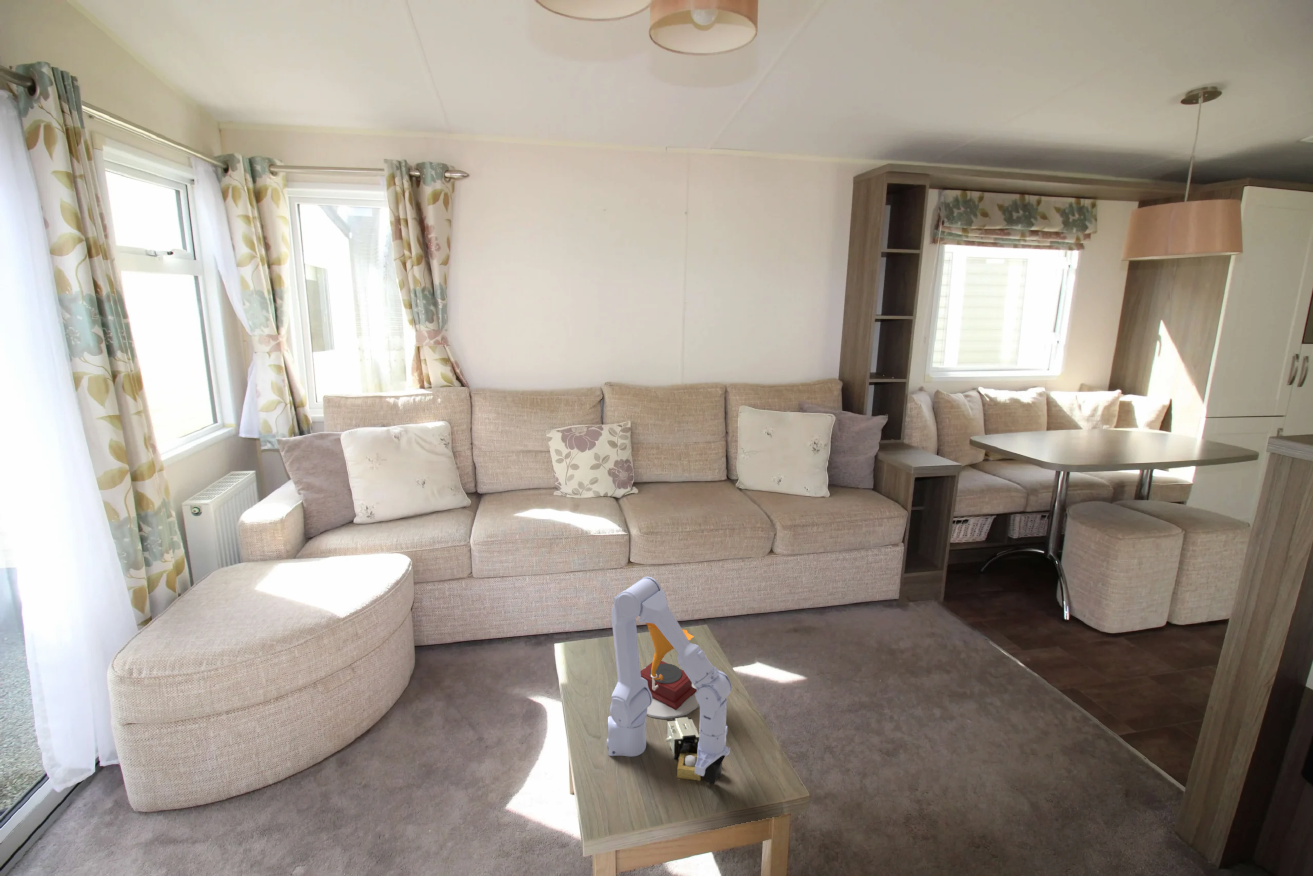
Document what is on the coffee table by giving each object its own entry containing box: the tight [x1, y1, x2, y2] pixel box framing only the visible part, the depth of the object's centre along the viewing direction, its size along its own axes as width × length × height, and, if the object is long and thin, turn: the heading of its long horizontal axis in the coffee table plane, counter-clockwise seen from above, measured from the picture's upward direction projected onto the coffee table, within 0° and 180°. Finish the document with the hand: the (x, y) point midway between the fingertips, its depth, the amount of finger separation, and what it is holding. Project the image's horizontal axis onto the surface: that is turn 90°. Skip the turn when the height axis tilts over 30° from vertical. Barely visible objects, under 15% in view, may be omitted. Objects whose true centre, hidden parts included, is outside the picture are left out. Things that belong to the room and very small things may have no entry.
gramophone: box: [640, 623, 700, 720], centre depth 162 cm, size 20×20×25 cm
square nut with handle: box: [676, 753, 723, 781], centre depth 137 cm, size 5×10×3 cm, turn 80°
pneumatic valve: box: [665, 715, 699, 760], centre depth 146 cm, size 6×12×12 cm
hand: (710, 780), depth 133 cm, fingers closed
